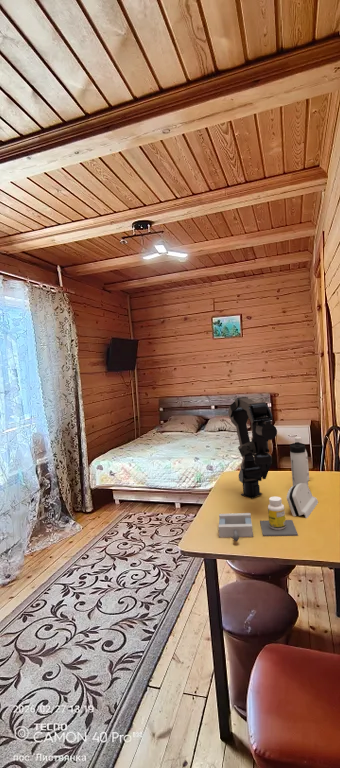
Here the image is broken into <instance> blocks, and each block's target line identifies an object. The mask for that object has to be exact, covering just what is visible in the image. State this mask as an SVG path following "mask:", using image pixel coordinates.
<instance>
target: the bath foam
mask: <svg viewBox="0 0 340 768" xmlns="http://www.w3.org/2000/svg"><path fill="white" fill-rule="evenodd" d="M295 442H299V443H303V440H302V437H301V436H295V437H294V443H295ZM305 451H306V452H305V453H306V464H307V477H308V481H310V470H309V456H308V452H307V449H305Z"/></svg>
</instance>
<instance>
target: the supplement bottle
mask: <svg viewBox="0 0 340 768" xmlns="http://www.w3.org/2000/svg"><path fill="white" fill-rule="evenodd" d="M268 501H269V502H268V503H269V504H268V505H267V511H268V513H267V514H268V520H269V525H270V527H271V528H272V529H275V530H281V529H284V528H285V527H286V521H285V520H286V513H285V505H284V503H282V501H283V500H282V497H280V496H270V497H269V498H268Z"/></svg>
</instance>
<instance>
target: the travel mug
mask: <svg viewBox="0 0 340 768" xmlns="http://www.w3.org/2000/svg"><path fill="white" fill-rule="evenodd" d="M289 449H290V451H289V452H290V453H289V454H290V466H291V467H290V468H291V469H290V470H291V479H292V481H291V482H292V486H294V485H296V484H300V483H306V484H307V486H308V487H309V480H308V477H307V464H306V453H305V452H307V450H306V444H305V443H303V442H302V443H299V442H295V441H294V442H293V443H291V444H289ZM305 450H306V451H305Z"/></svg>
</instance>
